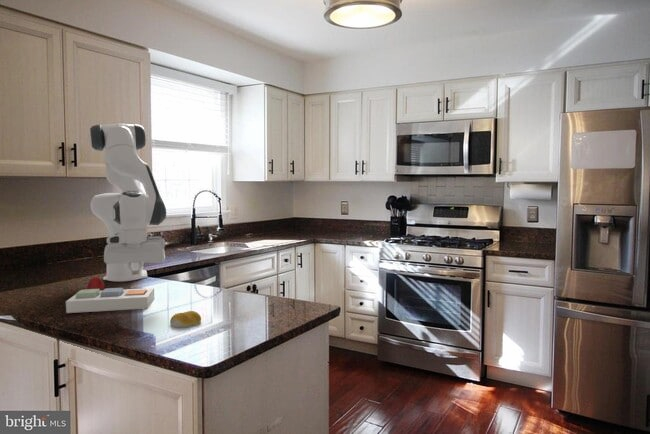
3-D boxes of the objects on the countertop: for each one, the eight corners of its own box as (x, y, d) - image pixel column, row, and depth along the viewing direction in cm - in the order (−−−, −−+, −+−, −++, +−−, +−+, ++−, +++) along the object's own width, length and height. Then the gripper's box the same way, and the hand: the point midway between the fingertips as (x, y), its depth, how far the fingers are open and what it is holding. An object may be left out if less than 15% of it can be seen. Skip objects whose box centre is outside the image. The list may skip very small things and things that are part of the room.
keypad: (79, 302, 170) (79, 291, 170) (154, 298, 175) (154, 288, 175) (66, 313, 157) (65, 301, 156) (147, 308, 162) (147, 297, 161)
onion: (86, 297, 177) (85, 277, 177) (89, 294, 183) (88, 274, 182) (103, 296, 179) (102, 276, 178) (105, 293, 184) (105, 273, 184)
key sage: (81, 297, 167) (81, 289, 166) (99, 296, 168) (99, 288, 168) (76, 302, 161) (75, 293, 161) (95, 301, 162) (94, 292, 162)
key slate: (105, 296, 168) (105, 288, 168) (123, 295, 169) (123, 287, 169) (101, 300, 162) (100, 292, 162) (119, 299, 164) (119, 291, 163)
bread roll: (206, 322, 146) (205, 310, 145) (182, 330, 138) (182, 317, 138) (189, 318, 150) (188, 306, 150) (165, 325, 143) (164, 312, 143)
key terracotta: (129, 298, 170) (129, 290, 170) (146, 297, 171) (146, 289, 171) (125, 302, 164) (125, 294, 164) (143, 301, 165) (143, 293, 165)
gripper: (166, 234, 171) (167, 271, 172) (106, 236, 167) (108, 274, 168) (163, 237, 165) (165, 275, 166) (101, 238, 161) (103, 278, 162)
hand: (135, 275), depth 167 cm, fingers closed
